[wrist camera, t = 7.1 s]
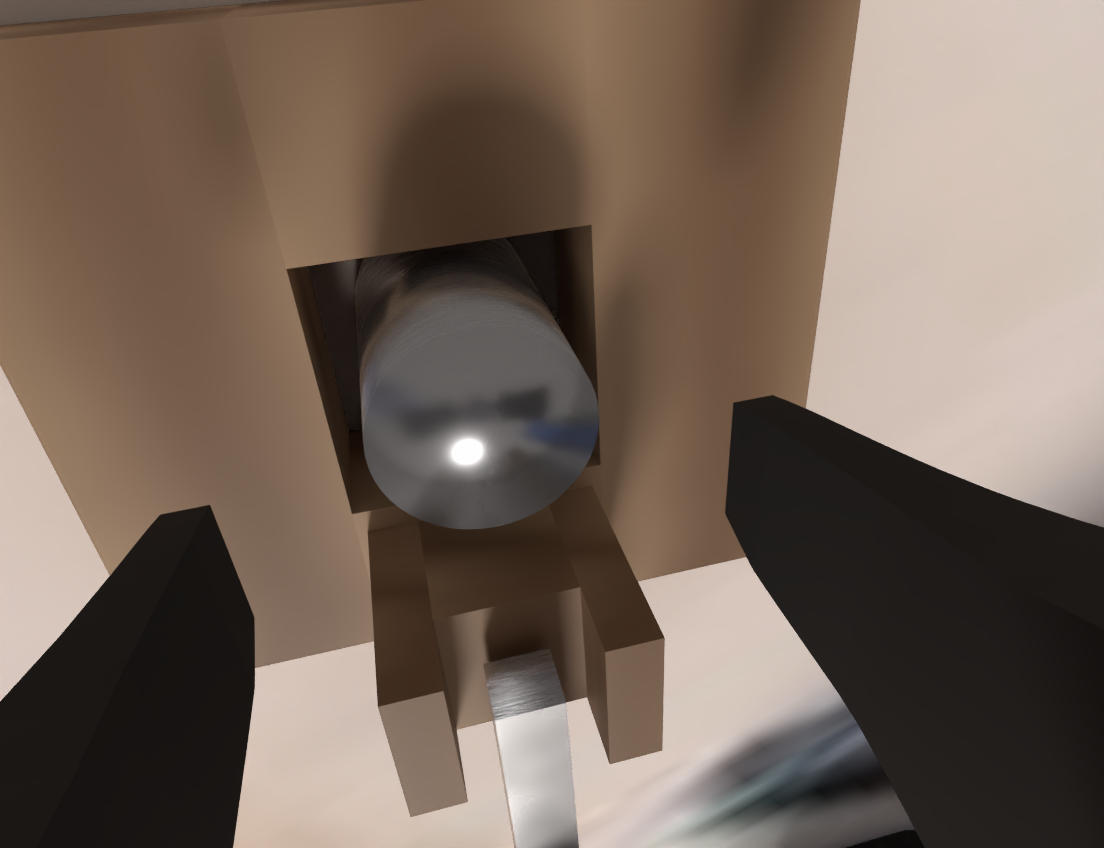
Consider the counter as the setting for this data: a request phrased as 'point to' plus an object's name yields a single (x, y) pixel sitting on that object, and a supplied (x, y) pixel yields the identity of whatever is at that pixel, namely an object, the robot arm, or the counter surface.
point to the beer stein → (894, 841)
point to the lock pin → (533, 749)
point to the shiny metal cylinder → (468, 386)
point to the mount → (406, 225)
